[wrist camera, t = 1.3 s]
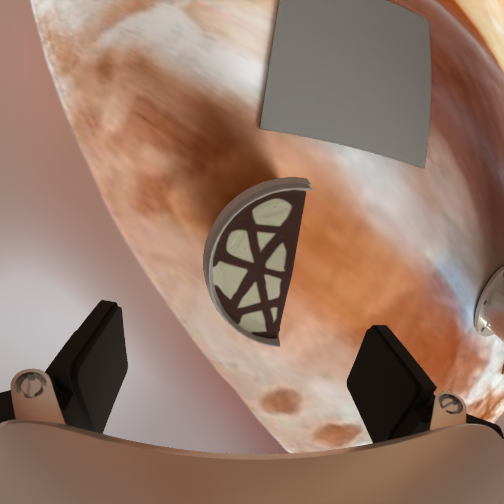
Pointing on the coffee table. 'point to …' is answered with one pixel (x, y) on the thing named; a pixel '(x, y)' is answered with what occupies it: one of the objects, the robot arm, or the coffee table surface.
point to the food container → (255, 256)
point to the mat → (351, 76)
